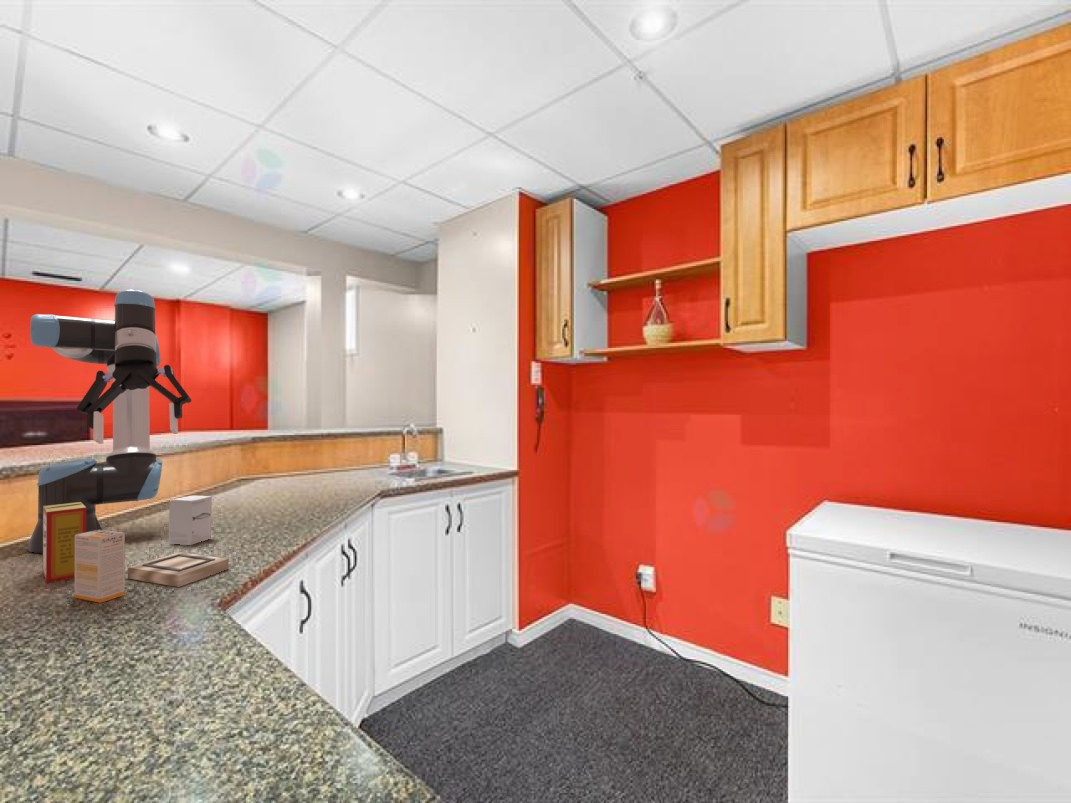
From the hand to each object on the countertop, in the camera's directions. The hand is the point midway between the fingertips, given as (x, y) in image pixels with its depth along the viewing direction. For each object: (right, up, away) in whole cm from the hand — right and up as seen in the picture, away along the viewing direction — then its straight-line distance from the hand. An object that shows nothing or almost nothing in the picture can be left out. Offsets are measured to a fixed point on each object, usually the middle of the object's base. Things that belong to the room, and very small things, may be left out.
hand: (137, 436), depth 109 cm
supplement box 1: (-2, -33, -7) cm, 33 cm away
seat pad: (+4, -32, +7) cm, 34 cm away
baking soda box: (-22, -32, +6) cm, 40 cm away
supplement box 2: (-11, -33, +33) cm, 48 cm away
